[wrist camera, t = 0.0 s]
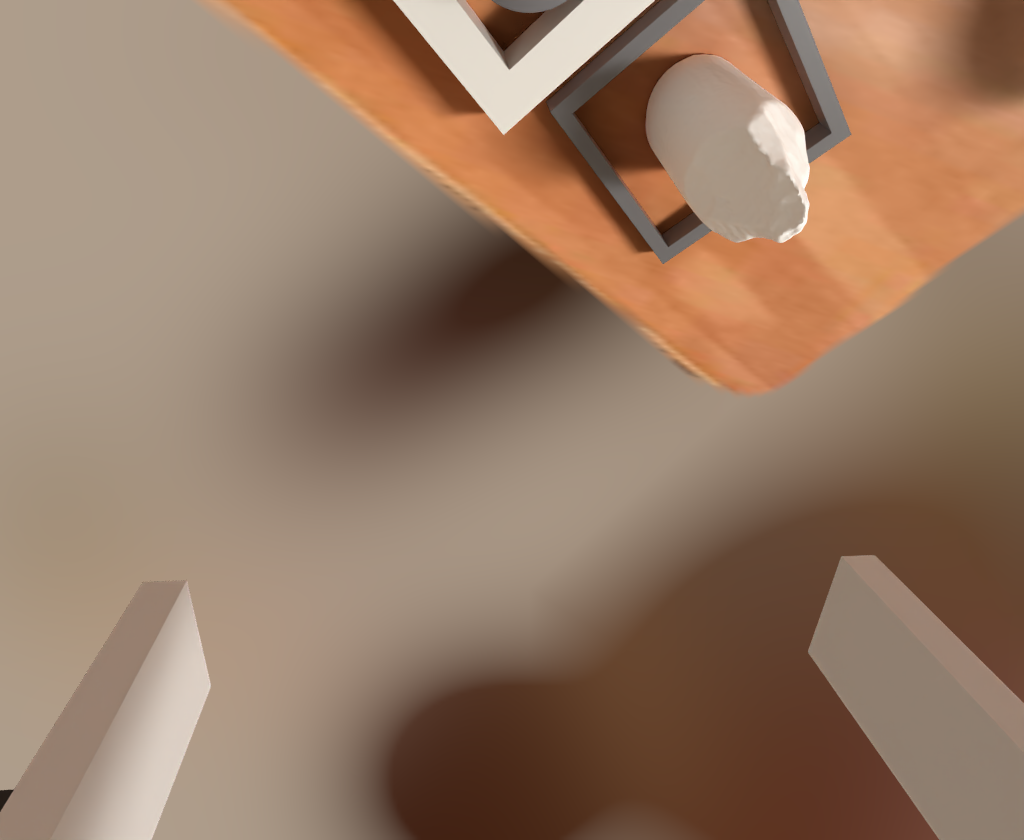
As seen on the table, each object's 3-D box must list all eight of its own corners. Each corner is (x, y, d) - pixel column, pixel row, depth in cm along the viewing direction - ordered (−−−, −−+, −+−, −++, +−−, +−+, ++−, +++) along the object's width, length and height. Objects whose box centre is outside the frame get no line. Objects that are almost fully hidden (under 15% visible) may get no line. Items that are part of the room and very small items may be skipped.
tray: (754, -83, 27) (767, -79, 26) (838, 124, 34) (851, 134, 33) (546, 101, 32) (550, 112, 31) (656, 251, 39) (663, 263, 38)
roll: (711, 175, 23) (867, 120, 22) (635, 75, 31) (746, 32, 31) (724, 301, 27) (856, 259, 26) (654, 183, 36) (752, 148, 35)
